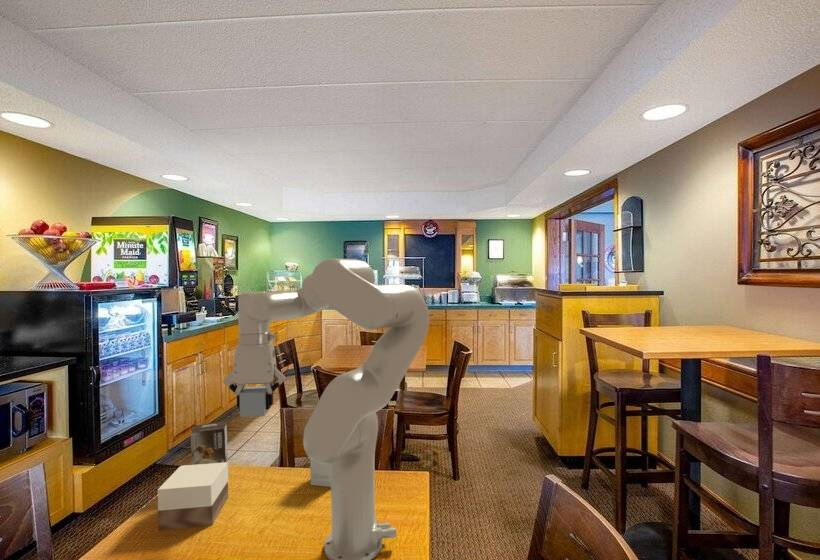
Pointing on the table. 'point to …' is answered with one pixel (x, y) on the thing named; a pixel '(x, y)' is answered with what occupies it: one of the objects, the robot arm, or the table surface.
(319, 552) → the table surface
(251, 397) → the stack block
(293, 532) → the table surface
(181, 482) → the tower top block
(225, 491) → the tower base block
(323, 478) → the supplement box
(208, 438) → the coffee box
